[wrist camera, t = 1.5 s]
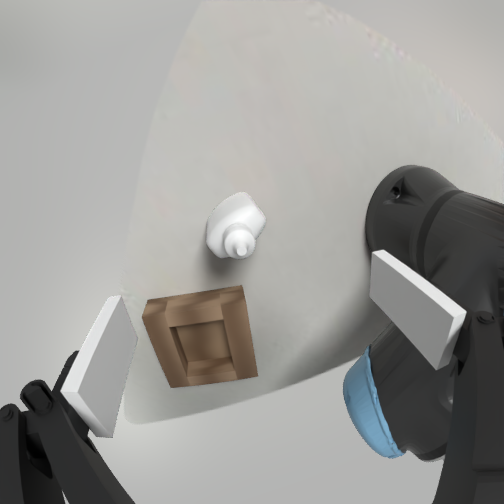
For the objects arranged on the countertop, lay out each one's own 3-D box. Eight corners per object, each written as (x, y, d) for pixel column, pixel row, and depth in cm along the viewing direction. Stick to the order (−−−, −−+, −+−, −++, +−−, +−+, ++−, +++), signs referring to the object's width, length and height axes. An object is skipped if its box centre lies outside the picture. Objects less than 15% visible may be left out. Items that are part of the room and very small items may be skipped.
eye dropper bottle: (258, 226, 32) (284, 270, 21) (210, 236, 32) (210, 285, 21) (252, 189, 31) (276, 214, 20) (202, 199, 31) (196, 230, 19)
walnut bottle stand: (242, 285, 35) (245, 301, 31) (253, 357, 39) (258, 376, 36) (147, 299, 34) (141, 317, 30) (173, 368, 38) (171, 387, 35)
